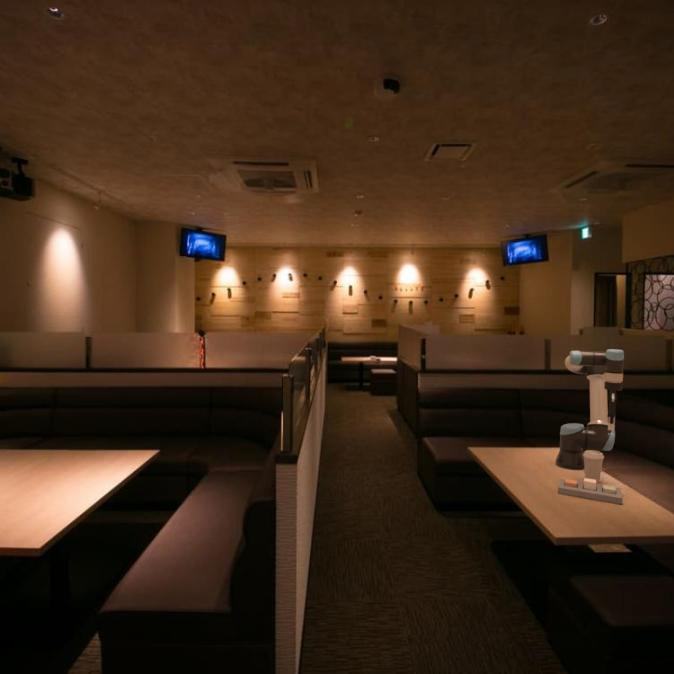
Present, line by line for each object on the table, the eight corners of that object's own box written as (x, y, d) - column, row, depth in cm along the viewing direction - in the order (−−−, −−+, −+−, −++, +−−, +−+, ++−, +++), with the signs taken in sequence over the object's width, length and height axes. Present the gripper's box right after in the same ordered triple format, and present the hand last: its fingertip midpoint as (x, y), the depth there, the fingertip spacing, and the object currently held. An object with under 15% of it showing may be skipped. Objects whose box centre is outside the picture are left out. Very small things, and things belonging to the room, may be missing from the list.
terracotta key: (565, 485, 236) (565, 478, 236) (576, 487, 234) (577, 480, 234) (564, 489, 232) (565, 482, 232) (576, 491, 229) (576, 483, 229)
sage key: (602, 492, 229) (603, 484, 228) (614, 494, 226) (615, 486, 226) (602, 495, 224) (603, 488, 224) (615, 497, 222) (615, 490, 222)
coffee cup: (605, 485, 241) (607, 455, 240) (584, 483, 243) (586, 454, 242) (599, 478, 250) (600, 450, 249) (579, 477, 252) (580, 449, 251)
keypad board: (560, 484, 241) (560, 478, 241) (620, 494, 229) (620, 488, 229) (558, 493, 229) (558, 487, 229) (621, 504, 217) (622, 498, 217)
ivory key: (584, 485, 232) (584, 477, 232) (595, 486, 230) (596, 479, 230) (583, 488, 228) (584, 481, 228) (595, 490, 226) (596, 483, 225)
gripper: (604, 379, 240) (602, 426, 242) (604, 382, 229) (602, 431, 230) (621, 380, 236) (619, 428, 238) (623, 384, 225) (620, 434, 227)
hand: (611, 429), depth 234 cm, fingers closed
